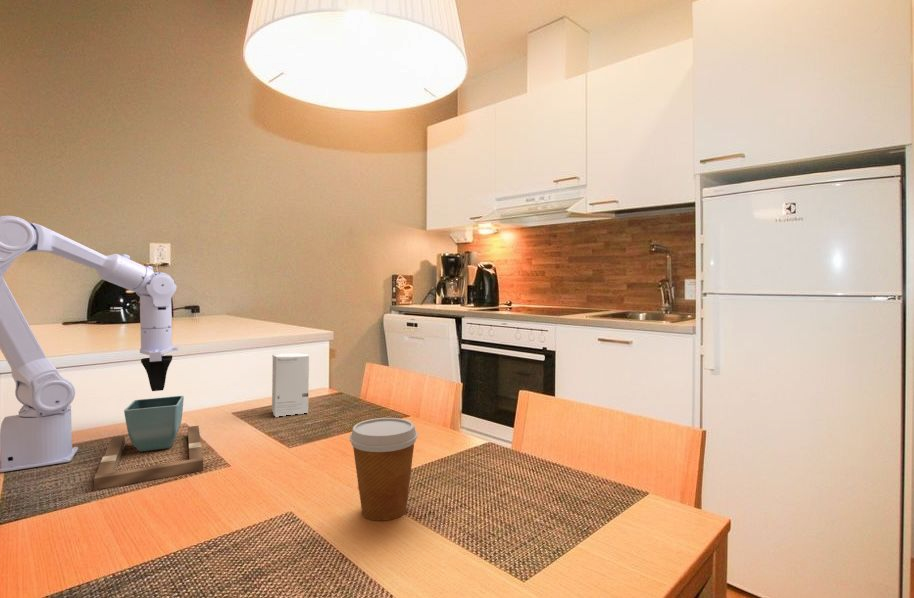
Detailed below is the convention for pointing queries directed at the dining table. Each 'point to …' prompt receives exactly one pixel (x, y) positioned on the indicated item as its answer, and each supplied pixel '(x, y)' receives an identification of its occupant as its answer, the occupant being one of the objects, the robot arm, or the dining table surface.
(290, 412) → the skincare box
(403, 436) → the disposable coffee cup
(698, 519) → the dining table surface
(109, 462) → the wooden frame
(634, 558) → the dining table surface
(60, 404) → the robot arm
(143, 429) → the flower pot
